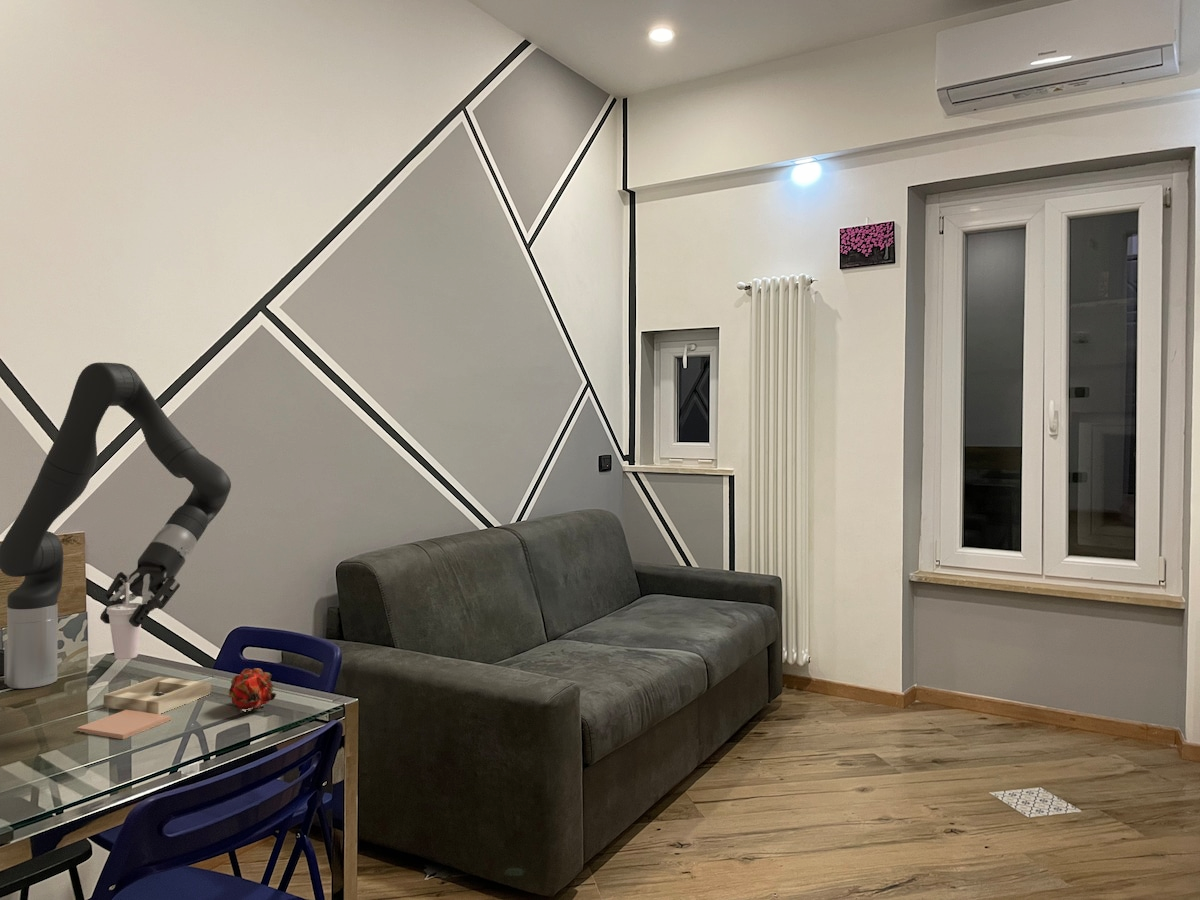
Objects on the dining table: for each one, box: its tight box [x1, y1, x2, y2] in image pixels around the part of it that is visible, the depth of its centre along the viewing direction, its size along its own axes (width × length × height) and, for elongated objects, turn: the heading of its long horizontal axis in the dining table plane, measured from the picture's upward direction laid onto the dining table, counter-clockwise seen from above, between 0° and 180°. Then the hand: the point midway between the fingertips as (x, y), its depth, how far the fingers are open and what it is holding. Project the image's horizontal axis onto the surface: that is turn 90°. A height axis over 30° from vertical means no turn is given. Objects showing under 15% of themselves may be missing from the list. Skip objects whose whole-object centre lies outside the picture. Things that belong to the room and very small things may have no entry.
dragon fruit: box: [228, 667, 277, 712], centre depth 174 cm, size 8×8×12 cm
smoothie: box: [106, 583, 142, 661], centre depth 163 cm, size 6×6×14 cm
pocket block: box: [103, 675, 212, 715], centre depth 178 cm, size 14×14×2 cm
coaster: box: [76, 710, 172, 740], centre depth 163 cm, size 11×11×1 cm
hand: (118, 622), depth 161 cm, fingers closed on smoothie, 6 cm apart
